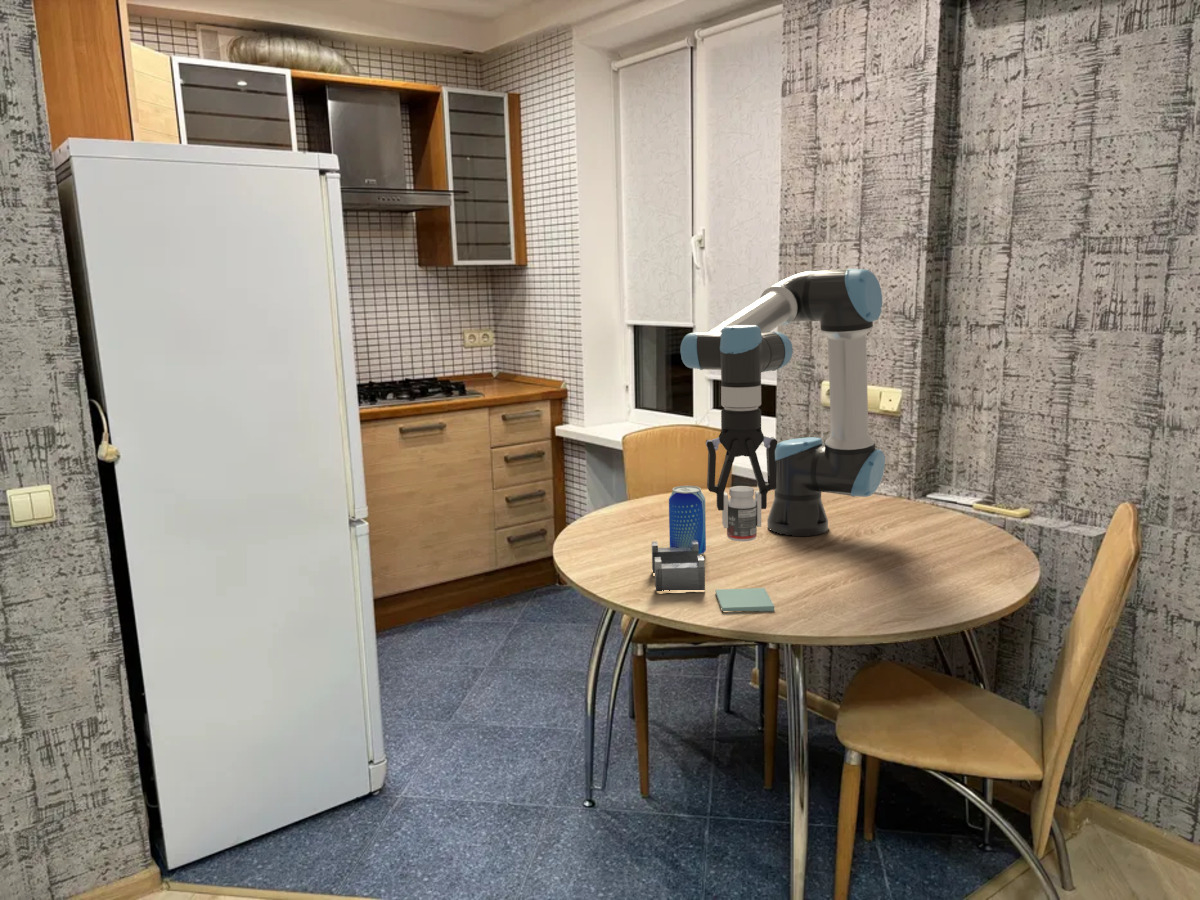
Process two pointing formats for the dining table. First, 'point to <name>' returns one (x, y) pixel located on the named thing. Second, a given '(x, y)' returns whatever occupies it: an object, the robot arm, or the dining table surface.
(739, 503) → the pill bottle
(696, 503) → the beer can
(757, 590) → the coaster
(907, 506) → the dining table surface
